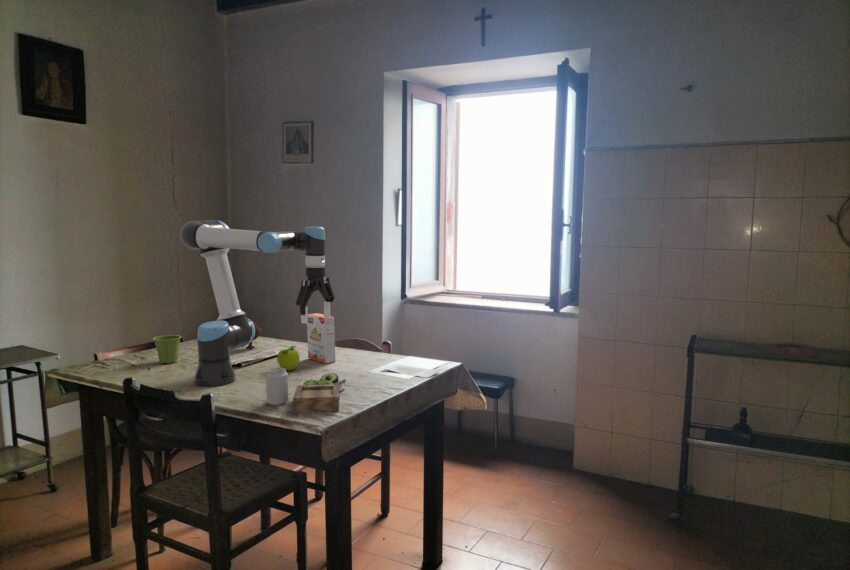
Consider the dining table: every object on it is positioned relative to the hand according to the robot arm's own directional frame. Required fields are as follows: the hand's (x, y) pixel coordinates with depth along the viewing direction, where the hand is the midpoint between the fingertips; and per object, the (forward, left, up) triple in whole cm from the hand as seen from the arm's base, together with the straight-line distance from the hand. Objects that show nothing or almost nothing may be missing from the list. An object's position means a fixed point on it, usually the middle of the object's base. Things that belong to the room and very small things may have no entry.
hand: (316, 320), depth 235 cm
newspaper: (-29, +42, -25) cm, 57 cm away
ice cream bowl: (-36, +63, -25) cm, 77 cm away
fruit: (-13, +20, -25) cm, 34 cm away
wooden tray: (+2, -30, -25) cm, 39 cm away
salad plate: (+3, -9, -25) cm, 27 cm away
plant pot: (-68, +40, -25) cm, 83 cm away
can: (-12, -26, -25) cm, 38 cm away
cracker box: (0, +35, -25) cm, 43 cm away
